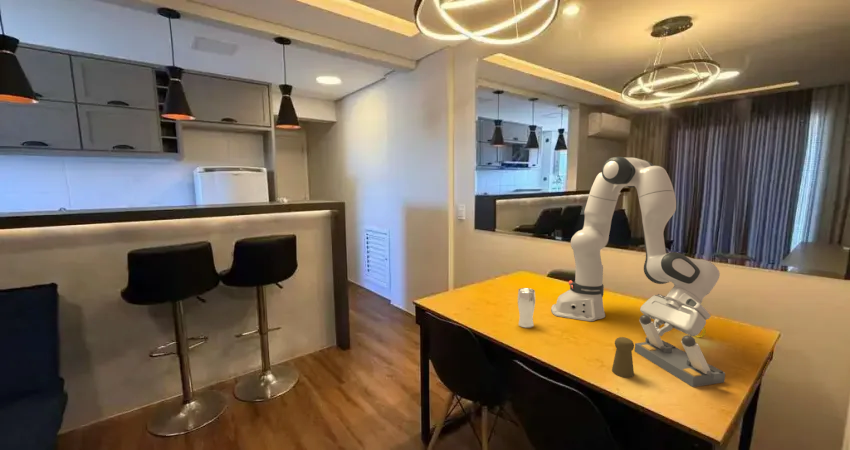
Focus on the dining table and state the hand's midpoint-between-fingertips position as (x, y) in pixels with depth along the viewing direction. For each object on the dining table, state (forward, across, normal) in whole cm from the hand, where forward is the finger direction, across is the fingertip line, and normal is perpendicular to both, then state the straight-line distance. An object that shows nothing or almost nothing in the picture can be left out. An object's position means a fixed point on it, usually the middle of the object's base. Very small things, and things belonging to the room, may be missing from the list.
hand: (655, 333), depth 119 cm
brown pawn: (+18, +6, -7) cm, 21 cm away
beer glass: (+26, -34, -16) cm, 46 cm away
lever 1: (+3, 0, +5) cm, 5 cm away
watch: (-13, -10, +26) cm, 30 cm away
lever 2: (+3, +16, +4) cm, 17 cm away
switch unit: (+5, +7, +7) cm, 11 cm away
